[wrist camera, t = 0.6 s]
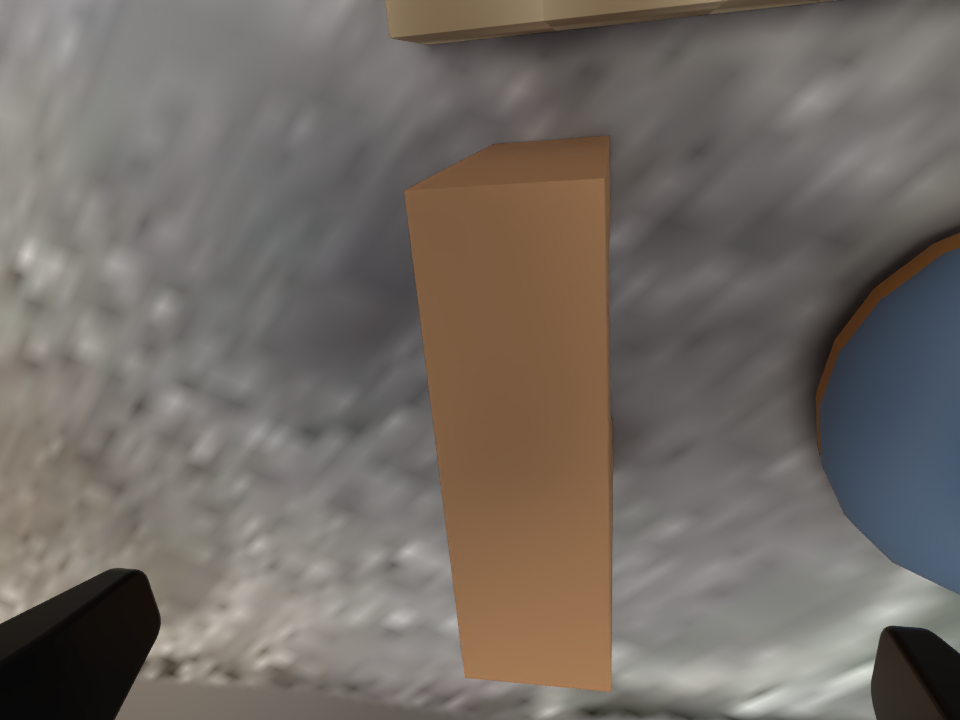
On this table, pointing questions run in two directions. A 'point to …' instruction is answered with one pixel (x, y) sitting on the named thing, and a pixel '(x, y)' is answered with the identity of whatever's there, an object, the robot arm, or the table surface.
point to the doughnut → (900, 415)
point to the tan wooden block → (523, 402)
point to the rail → (542, 15)
